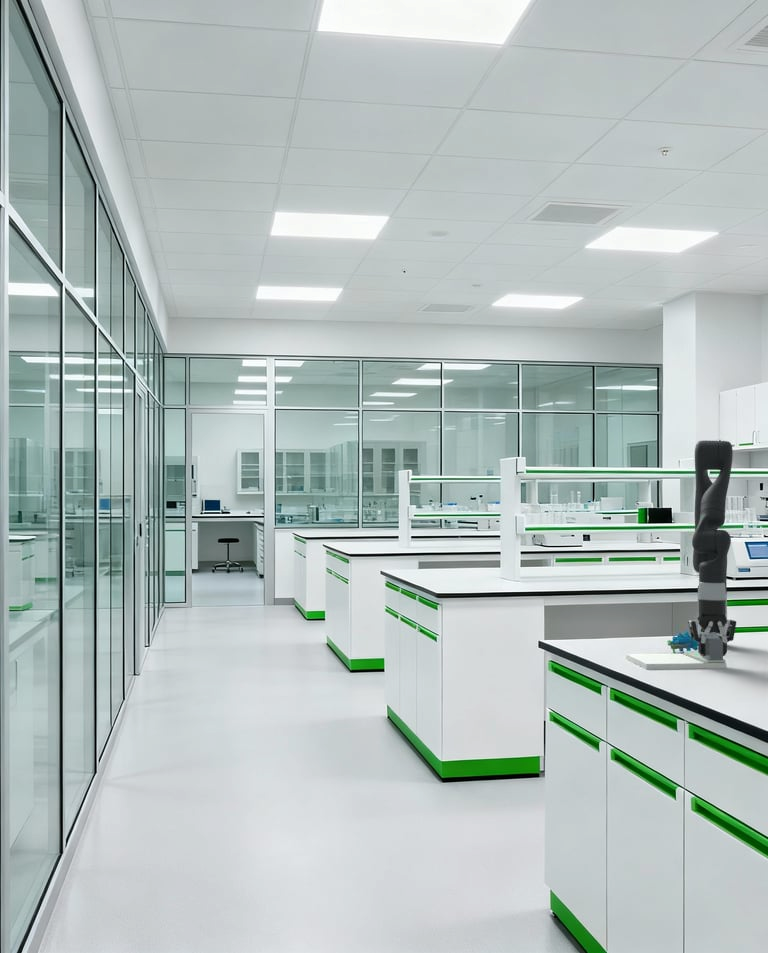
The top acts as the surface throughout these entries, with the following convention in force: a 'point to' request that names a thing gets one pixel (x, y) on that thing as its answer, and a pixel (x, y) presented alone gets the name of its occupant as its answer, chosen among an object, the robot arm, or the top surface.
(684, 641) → the gear
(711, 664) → the ticket board
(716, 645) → the stub
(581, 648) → the top surface
